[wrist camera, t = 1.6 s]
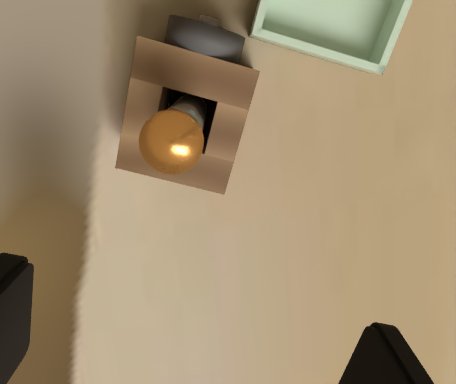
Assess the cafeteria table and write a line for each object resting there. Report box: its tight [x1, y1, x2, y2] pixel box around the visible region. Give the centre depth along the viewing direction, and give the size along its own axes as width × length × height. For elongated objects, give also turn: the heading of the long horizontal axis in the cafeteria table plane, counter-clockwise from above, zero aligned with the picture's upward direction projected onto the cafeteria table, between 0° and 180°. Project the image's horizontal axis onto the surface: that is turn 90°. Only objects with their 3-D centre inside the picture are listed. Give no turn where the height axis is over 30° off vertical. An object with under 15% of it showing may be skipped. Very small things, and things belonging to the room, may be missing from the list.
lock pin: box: [139, 94, 207, 175], centre depth 26 cm, size 4×4×14 cm
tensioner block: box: [115, 14, 260, 194], centre depth 29 cm, size 13×9×6 cm
